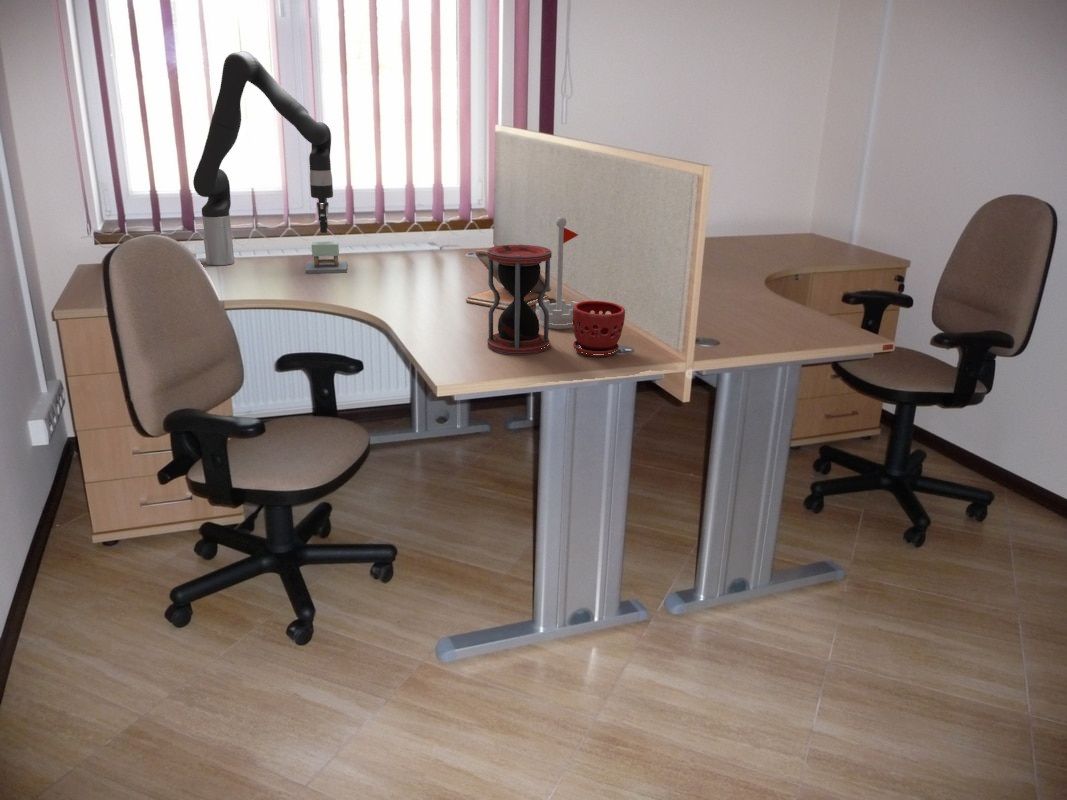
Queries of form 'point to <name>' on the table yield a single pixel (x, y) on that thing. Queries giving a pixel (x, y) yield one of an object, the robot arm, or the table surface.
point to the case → (505, 296)
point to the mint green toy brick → (325, 252)
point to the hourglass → (519, 299)
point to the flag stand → (559, 286)
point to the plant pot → (597, 327)
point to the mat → (327, 268)
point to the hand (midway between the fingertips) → (324, 230)
